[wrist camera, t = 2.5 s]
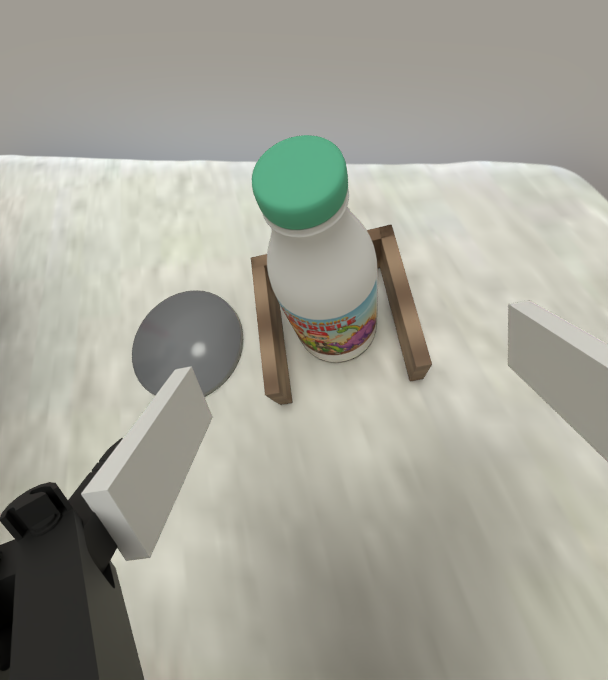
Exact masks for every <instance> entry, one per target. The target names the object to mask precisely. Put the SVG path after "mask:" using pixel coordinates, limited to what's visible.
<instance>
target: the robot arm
mask: <svg viewBox="0 0 608 680" xmlns="http://www.w3.org/2000/svg"><path fill="white" fill-rule="evenodd" d="M508 366H509V367H510V368H511V369H512V370H513V371H514V372H515V373H516V374H517V375H518V376H519V377H520V378H521V379H523V380H524V381H525V382H526V383H527V384H528V385H529V386H530V387H531V388H532V389H533V390H534V391H535V392H536V393H537V394H538V395H539V396H540V397H541V398H542V399H543V400H544V401H545V402H546V403H547V404H548V405H549V406H551V407H552V408H553V409H554V410H555V411H556V412H557V413H558V414H559V415H560V416H561V417H562V418H563V419H564V420H565V421H566V422H567V423H568V424H569V425H570V426H571V427H572V428H573V429H574V430H575V431H576V432H577V433H578V434H580V435H581V436H582V437H583V438H584V439H585V440H586V441H587V442H588V443H589V444H590V445H591V446H592V447H593V448H594V449H595V450H596V451H597V452H598V453H599V454H600V455H601V456H602V457H603V458H604V459H605V460H606V461H607V462H608V344H607V343H606V342H604V341H602V340H600V339H598V338H597V337H595V336H593V335H591V334H589V333H588V332H586V331H584V330H582V329H580V328H579V327H577V326H575V325H573V324H572V323H570V322H568V321H566V320H564V319H563V318H561V317H559V316H557V315H555V314H554V313H552V312H550V311H548V310H546V309H545V308H543V307H541V306H539V305H538V304H536V303H534V302H532V301H530V300H527V301H521V302H516V303H511V304H508ZM211 420H212V414H211V412H210V410H209V407H208V405H207V402H206V400H205V397H204V395H203V393H202V390H201V388H200V385H199V383H198V381H197V378H196V376H195V373H194V371H193V369H192V366H190V367H185V368H180V369H175V370H174V372H173V373H172V374H171V376H170V377H169V378H168V380H167V381H166V382H165V384H164V385H163V386H162V388H161V389H160V390H159V392H158V393H157V394H156V395H155V397H154V398H153V399H152V401H151V402H150V403H149V405H148V406H147V407H146V409H145V410H144V411H143V413H142V414H141V415H140V417H139V418H138V419H137V421H136V422H135V423H134V425H133V426H132V427H131V428H130V430H129V431H128V432H127V434H126V435H125V436H124V438H121V439H120V440H118V441H117V442H116V443H115V444H114V445H112V446H111V447H110V448H109V449H108V450H107V451H106V453H105V454H104V455H103V456H102V458H101V459H100V460H99V463H97V464H96V465H95V467H94V468H93V469H92V472H90V473H89V474H88V476H87V477H86V478H85V479H84V481H83V482H82V483H81V484H80V486H79V487H78V488H77V490H76V491H75V492H74V493H73V495H72V496H71V497H70V499H69V500H67V499H66V497H65V496H64V494H63V493H62V491H61V490H60V489H59V487H58V486H57V484H56V483H51V482H49V483H44V484H40V485H38V486H36V487H34V488H32V489H30V490H28V491H26V492H25V493H23V494H22V495H20V496H19V497H17V498H16V499H15V500H14V501H13V502H11V503H10V504H9V505H8V506H7V508H6V509H5V510H4V511H3V512H2V514H1V517H0V522H1V523H2V524H3V525H4V526H5V527H6V529H7V530H8V531H9V532H10V533H11V535H12V536H13V537H14V538H15V539H14V540H12V541H9V542H7V543H4V544H2V545H0V680H144V676H143V673H142V669H141V665H140V661H139V657H138V653H137V649H136V645H135V641H134V638H133V634H132V630H131V626H130V622H129V618H128V614H127V610H126V607H125V603H124V599H123V595H122V591H121V587H120V583H119V579H118V576H117V572H116V568H115V567H114V565H113V564H112V562H111V561H110V560H111V558H112V556H113V554H114V553H115V551H116V549H117V548H118V549H119V551H120V552H121V554H122V555H123V557H124V558H125V560H126V561H128V560H136V559H144V558H150V557H151V555H152V552H153V550H154V548H155V546H156V543H157V541H158V539H159V537H160V534H161V532H162V530H163V528H164V525H165V523H166V521H167V519H168V516H169V514H170V512H171V510H172V507H173V505H174V503H175V501H176V498H177V496H178V494H179V492H180V489H181V487H182V485H183V483H184V480H185V478H186V476H187V474H188V471H189V469H190V467H191V465H192V462H193V460H194V458H195V456H196V453H197V451H198V449H199V447H200V444H201V442H202V440H203V438H204V435H205V433H206V431H207V429H208V426H209V424H210V422H211Z"/></svg>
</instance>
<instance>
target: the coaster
mask: <svg viewBox="0 0 608 680" xmlns="http://www.w3.org/2000/svg"><path fill="white" fill-rule="evenodd" d="M242 346H243V331H242V326H241V323H240V320H239V318H238V316H237V314H236V313H235V311H234V310H233V309H232V308H231V307H230V306H229V305H228V303H227V302H226V301H224V300H223V299H222V298H220V297H219V296H217V295H215V294H212V293H209V292H205V291H186V292H182V293H178V294H176V295H173V296H171V297H169V298H167V299H165V300H164V301H162V302H161V303H159V304H158V305H157V306H156V307H155V308H153V309H152V310H151V312H150V313H149V314H148V315H147V316H146V317H145V319H144V320H143V322H142V323H141V325H140V327H139V329H138V331H137V333H136V336H135V339H134V343H133V348H132V363H133V368H134V371H135V374H136V376H137V378H138V380H139V382H140V383H141V384H142V386H143V387H144V388H145V389H146V390H148V391H149V392H150V393H152V394H154V395H156V394H157V393H158V392H159V390H160V389H161V388H162V386H163V385H164V384H165V382H166V381H167V380H168V378H169V377H170V376H171V374H172V373H173V372H174V370H175V369H180V368H185V367H190V366H192V369H193V371H194V373H195V376H196V378H197V381H198V383H199V385H200V388H201V390H202V393H203V395H204V397H205V396H207V395H208V394H210V393H212V392H213V391H215V390H216V389H218V388H219V387H220V386H221V385H222V384H223V383H224V382H225V381H226V380H227V379H228V378H229V377H230V375H231V374H232V372H233V371H234V369H235V367H236V365H237V363H238V361H239V358H240V356H241V352H242Z"/></svg>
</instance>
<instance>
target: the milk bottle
mask: <svg viewBox="0 0 608 680" xmlns="http://www.w3.org/2000/svg"><path fill="white" fill-rule="evenodd" d="M252 188H253V193H254V196H255V198H256V201H257V203H258V205H259V207H260V209H261V211H262V213H263V217H264V219H265V221H266V222H267V224H268V225H269V226H270V227H271V228H272V233H271V238H270V241H269V246H268V252H267V269H268V276H269V279H270V283H271V286H272V289H273V291H274V293H275V295H276V297H277V300H278V302H279V304H280V305H281V307H282V309H283V311H284V313H285V314H286V316H287V318H288V320H289V322H290V323H291V325H292V327H293V329H294V330H295V332H296V334H297V335H298V337H299V339H300V341H301V342H302V344H303V345H304V346H305V348H306V349H307V350H308V351H309V352H310V353H311V354H312V355H314V356H315V357H317V358H319V359H322V360H325V361H330V362H342V361H347V360H350V359H352V358H355V357H357V356H358V355H360V354H361V353H362V352H364V351H365V350H366V349H367V348H368V346H369V345H370V343H371V342H372V340H373V338H374V335H375V332H376V325H377V299H378V273H377V258H376V253H375V249H374V245H373V243H372V240H371V238H370V235H369V233H368V232H367V230H366V228H365V227H364V225H363V224H362V223H361V222H360V220H359V219H358V218H357V217H356V216H355V215H354V214H353V213H352V212H351V211H350V210H349V208H348V207H347V205H348V201H349V189H348V174H347V168H346V162H345V159H344V157H343V155H342V153H341V151H340V150H339V148H338V147H337V146H336V145H335V144H333V143H332V142H330V141H329V140H326V139H324V138H321V137H318V136H309V135H304V136H296V137H291V138H288V139H285V140H283V141H281V142H279V143H277V144H275V145H274V146H272V147H271V148H270V149H268V150H267V151H266V152H265V153H264V154H263V155H262V156H261V157H260V159H259V160H258V162H257V163H256V165H255V167H254V170H253V174H252Z"/></svg>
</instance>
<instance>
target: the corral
mask: <svg viewBox="0 0 608 680" xmlns="http://www.w3.org/2000/svg"><path fill="white" fill-rule="evenodd" d="M367 232H368V233H369V235H370V238H371V240H372V243H373V245H374V249H375V253H376V258H377V268H380V269H381V273H382V277H383V281H384V284H385V288H386V292H387V296H388V300H389V303H390V307H391V311H392V315H393V319H394V323H395V326H396V330H397V334H398V338H399V342H400V346H401V349H402V353H403V357H404V361H405V365H406V369H407V372H408V376H409V380H410V381H415V380H420V379H424V377H425V375H426V373H427V372H428V370H429V368H430V367H431V365H432V362H431V359H430V355H429V352H428V349H427V345H426V342H425V338H424V335H423V331H422V328H421V324H420V321H419V318H418V314H417V311H416V307H415V304H414V300H413V297H412V293H411V290H410V287H409V283H408V280H407V276H406V273H405V269H404V266H403V262H402V259H401V256H400V252H399V249H398V245H397V242H396V238H395V235H394V231H393V228H392V225H387V226H383V227H379V228H374V229H370V230H367ZM251 264H252V274H253V284H254V293H255V303H256V312H257V322H258V331H259V341H260V351H261V360H262V370H263V379H264V389H265V395H266V396H267V397H269V398H270V399H272V400H273V401H275V402H277V403H278V404H280V405H282V404H288V403H292V395H291V388H290V380H289V373H288V365H287V358H286V350H285V342H284V335H283V327H282V320H281V312H280V305H279V302H278V300H277V297H276V295H275V293H274V291H273V289H272V286H271V283H270V279H269V276H268V269H267V254H265V255H261V256H256V257H252V258H251Z"/></svg>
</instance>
